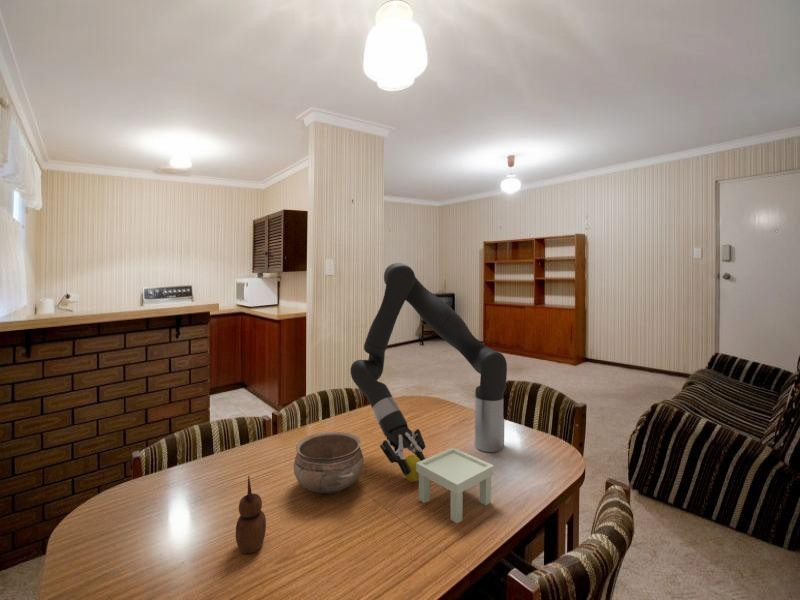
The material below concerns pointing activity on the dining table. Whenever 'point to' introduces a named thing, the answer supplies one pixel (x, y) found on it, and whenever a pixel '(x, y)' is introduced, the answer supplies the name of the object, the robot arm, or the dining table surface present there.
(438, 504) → the dining table surface
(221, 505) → the dining table surface
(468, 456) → the stool
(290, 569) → the dining table surface
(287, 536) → the dining table surface
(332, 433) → the cooking pot
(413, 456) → the lemon
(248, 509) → the wooden figurine
